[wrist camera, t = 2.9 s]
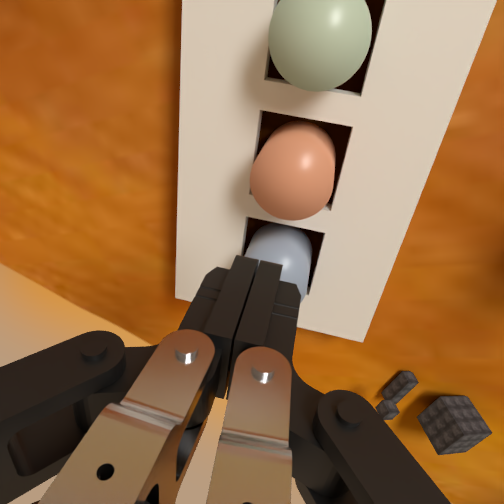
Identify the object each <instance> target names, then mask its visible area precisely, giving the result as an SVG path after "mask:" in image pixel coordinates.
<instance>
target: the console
mask: <svg viewBox="0 0 504 504" xmlns="http://www.w3.org/2000/svg"><path fill="white" fill-rule="evenodd" d="M277 1H278V0H182V29H181V72H180V114H179V157H178V199H177V241H176V284H175V298H178V299H182V300H186V301H190V302H192V301H193V299H194V297H195V295H196V293H197V291H198V289H199V288H200V285H201V283H202V281H203V279H204V277H205V275H206V274H207V273H209V272H210V271H211V270H213V269H214V268H216V267H221V268H226V269H230V268H231V266H232V263H233V261H234V259H235V257H236V255H240V256H243V253H244V245H245V238H246V230H247V223H248V217H252V218H256V219H261V220H266V221H271V222H275V223H280V224H285V225H290V226H294V227H299V228H304V229H309V230H313V231H318V232H323V233H324V235H323V239H322V243H321V247H320V251H319V254H318V258H317V262H316V266H315V270H314V274H313V277H312V281H311V285H310V287H308V286H307V292H306V295H305V297H304V299H303V301H302V302H301V303H300V308H299V315H298V321H297V327H300V328H304V329H308V330H312V331H317V332H321V333H325V334H329V335H334V336H338V337H342V338H346V339H350V340H355V341H359V342H363V341H364V338H365V336H366V333H367V330H368V328H369V325H370V323H371V320H372V318H373V315H374V313H375V310H376V307H377V305H378V302H379V300H380V297H381V295H382V292H383V290H384V287H385V284H386V282H387V279H388V277H389V274H390V272H391V269H392V267H393V264H394V262H395V259H396V256H397V254H398V251H399V249H400V246H401V244H402V241H403V239H404V236H405V233H406V231H407V228H408V226H409V223H410V221H411V218H412V216H413V213H414V211H415V208H416V205H417V203H418V200H419V198H420V195H421V193H422V190H423V188H424V185H425V182H426V180H427V177H428V175H429V172H430V170H431V167H432V165H433V162H434V159H435V157H436V154H437V152H438V149H439V147H440V144H441V142H442V139H443V137H444V134H445V131H446V129H447V126H448V124H449V121H450V119H451V116H452V114H453V111H454V108H455V106H456V103H457V101H458V98H459V96H460V93H461V91H462V88H463V85H464V83H465V80H466V78H467V75H468V73H469V70H470V68H471V65H472V63H473V60H474V57H475V55H476V52H477V50H478V47H479V45H480V42H481V40H482V37H483V34H484V32H485V29H486V27H487V24H488V22H489V19H490V17H491V14H492V11H493V9H494V6H495V4H496V1H497V0H385V1H384V5H383V9H382V13H381V17H380V20H379V24H378V28H377V32H376V36H375V40H374V43H373V47H372V51H371V55H370V59H369V63H368V66H367V70H366V74H365V78H364V82H363V86H362V89H361V93H357V92H351V91H345V90H339V89H330V90H326V91H319V92H313V91H306V90H302V89H300V88H297V87H295V86H294V85H292V84H290V83H289V82H288V81H286V80H281V79H275V78H270V77H267V75H268V68H269V60H270V50H269V42H268V34H269V26H270V21H271V18H272V15H273V12H274V10H275V8H276V6H277ZM263 111H269V112H274V113H280V114H285V115H291V116H296V117H302V118H307V119H313V120H318V121H324V122H329V123H335V124H340V125H346V126H351V127H352V128H351V132H350V136H349V139H348V143H347V147H346V151H345V155H344V159H343V162H342V166H341V170H340V174H339V178H338V182H337V185H336V189H335V193H334V197H333V201H332V204H328V203H327V204H326V205H325V206H324V207H323V209H322V210H320V211H319V212H318V213H316V214H315V215H313V216H311V217H309V218H306V219H302V220H295V221H290V220H283V219H279V218H277V217H274V216H272V215H270V214H269V213H267V212H266V211H265V210H264V209H262V208H261V207H260V205H259V204H258V203H257V202H256V200H255V198H254V196H253V194H252V191H251V187H250V173H251V169H252V166H253V164H254V162H255V160H256V156H257V149H258V142H259V134H260V127H261V120H262V112H263Z"/></svg>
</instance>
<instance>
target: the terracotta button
mask: <svg viewBox="0 0 504 504" xmlns="http://www.w3.org/2000/svg"><path fill="white" fill-rule="evenodd" d="M335 161H336V152H335V147H334V144H333V141H332V139H331V138H330V136H329V135H328V133H327V132H326V131H325V130H324V129H322V128H321V127H320V126H318V125H316V124H314V123H311V122H307V121H291V122H288V123H285V124H283V125H281V126H280V127H278V128H277V129H276V130H275V131H274V132H273V133H272V134H271V135H270V137H269V138H268V140H267V141H266V143H265V145H264V146H263V148H262V150H261V151H260V153H259V155H258V156H257V158H256V160H255V162H254V164H253V166H252V169H251V173H250V187H251V191H252V194H253V196H254V198H255V200H256V202H257V203H258V204H259V205H260V207H261V208H262V209H264V210H265V211H266V212H267V213H269V214H270V215H272V216H274V217H277V218H279V219H283V220H290V221H295V220H302V219H306V218H309V217H311V216H313V215H315V214H316V213H318V212H319V211H320V210H322V209H323V207H324V206H325V205H326V204H327V202H328V201H329V199H330V197H331V194H332V190H333V184H334V172H335Z"/></svg>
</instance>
